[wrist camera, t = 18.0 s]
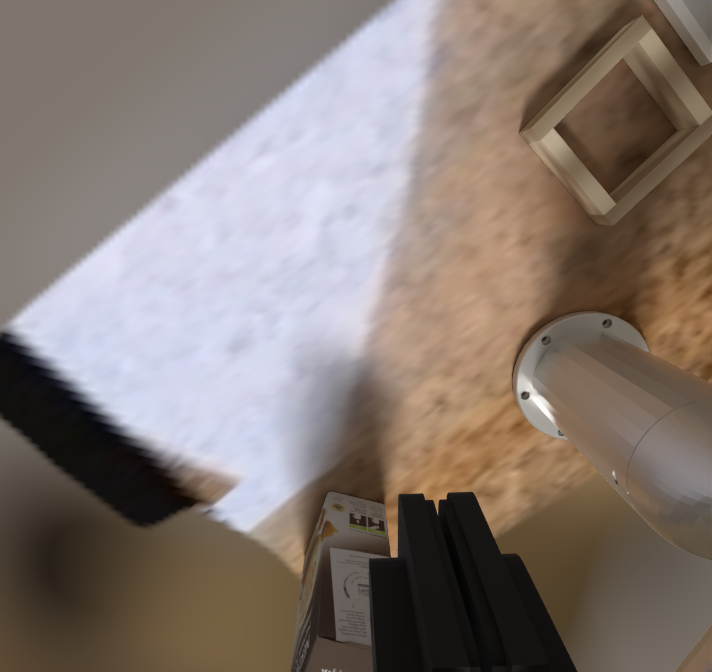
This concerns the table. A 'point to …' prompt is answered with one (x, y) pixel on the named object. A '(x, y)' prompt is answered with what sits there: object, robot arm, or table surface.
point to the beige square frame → (668, 92)
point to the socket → (691, 25)
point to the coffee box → (339, 587)
